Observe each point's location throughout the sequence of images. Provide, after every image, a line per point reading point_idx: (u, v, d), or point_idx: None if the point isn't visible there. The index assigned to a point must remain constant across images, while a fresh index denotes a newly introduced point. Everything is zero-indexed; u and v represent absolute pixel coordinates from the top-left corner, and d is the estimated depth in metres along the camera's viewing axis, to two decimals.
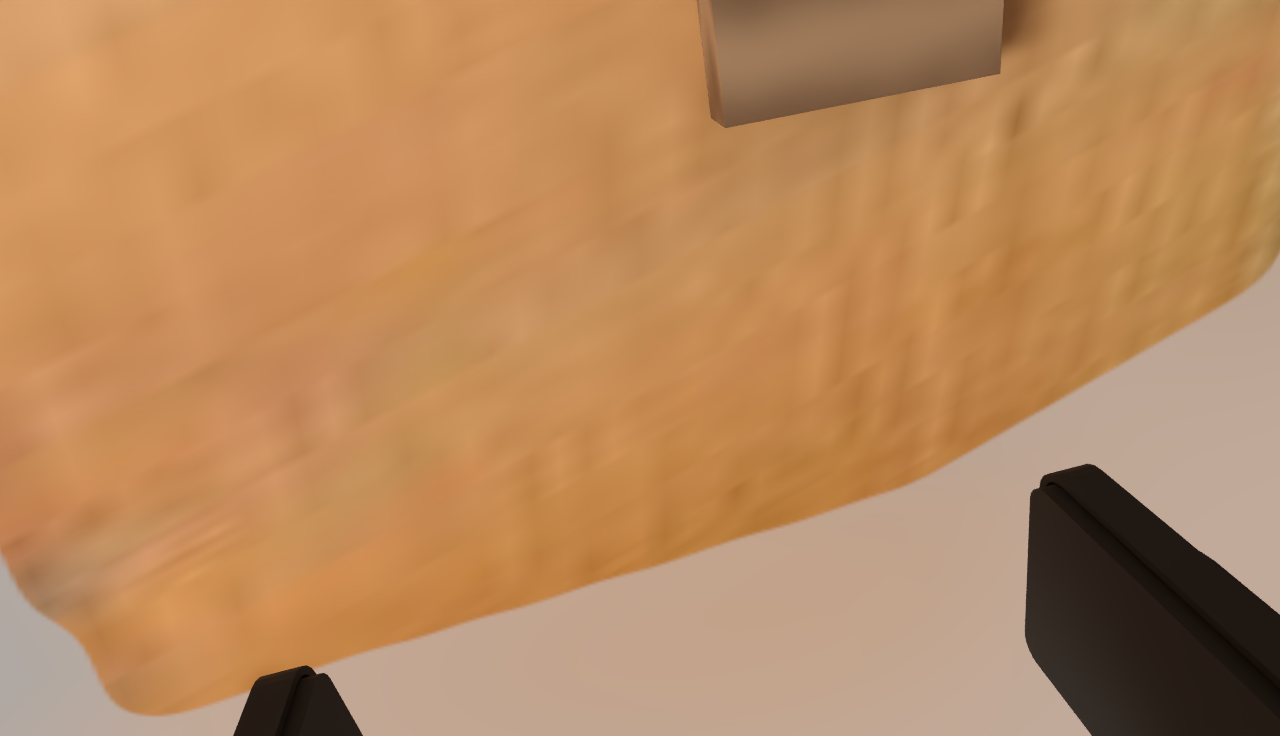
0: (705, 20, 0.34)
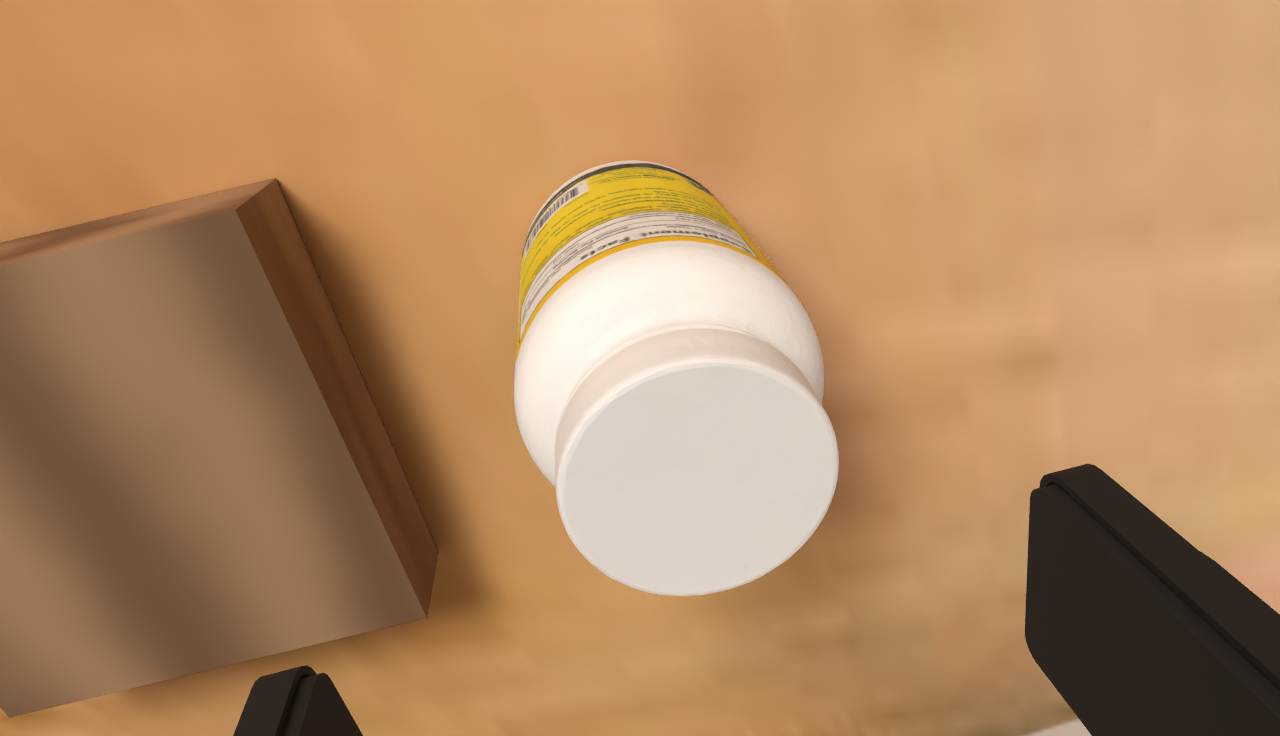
0: None
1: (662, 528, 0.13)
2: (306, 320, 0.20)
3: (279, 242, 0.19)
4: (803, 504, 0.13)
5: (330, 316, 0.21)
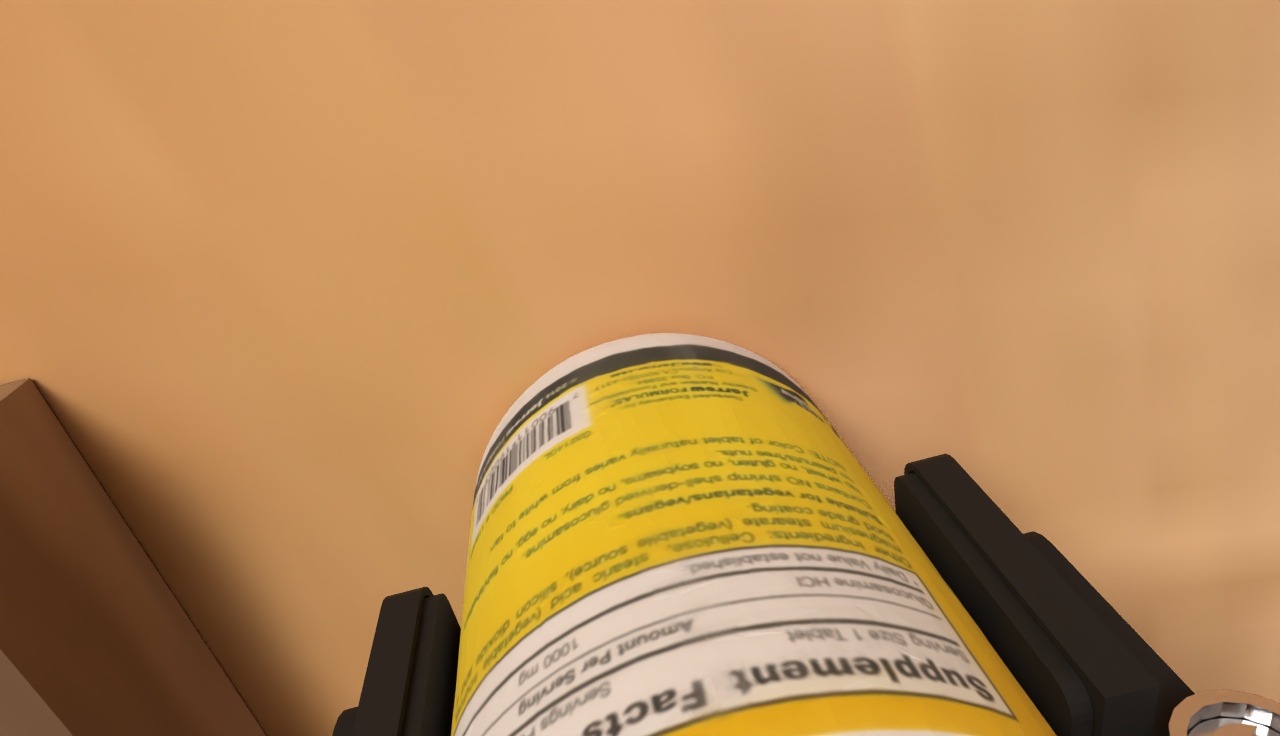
0: None
1: None
2: (80, 638, 0.11)
3: (20, 508, 0.10)
4: None
5: (149, 588, 0.13)
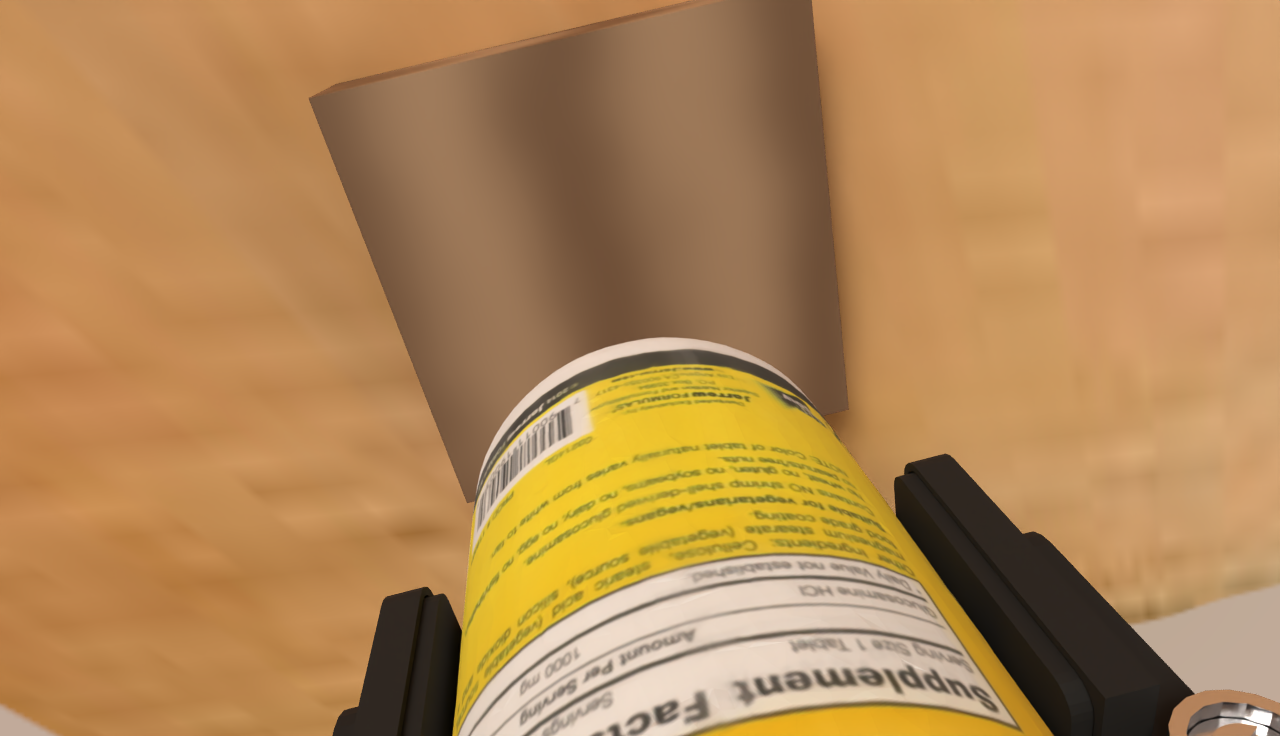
0: (484, 52, 0.21)
1: None
2: None
3: None
4: None
5: None
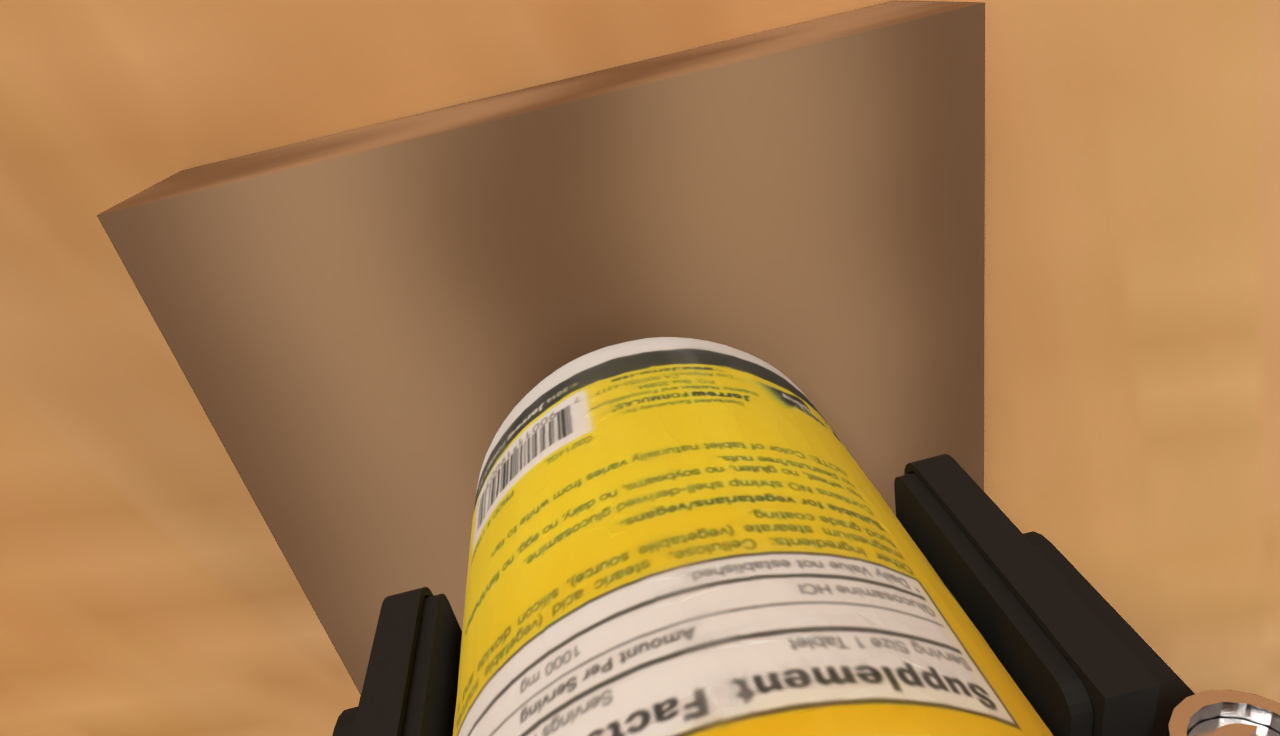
0: (421, 122, 0.12)
1: None
2: None
3: None
4: None
5: None
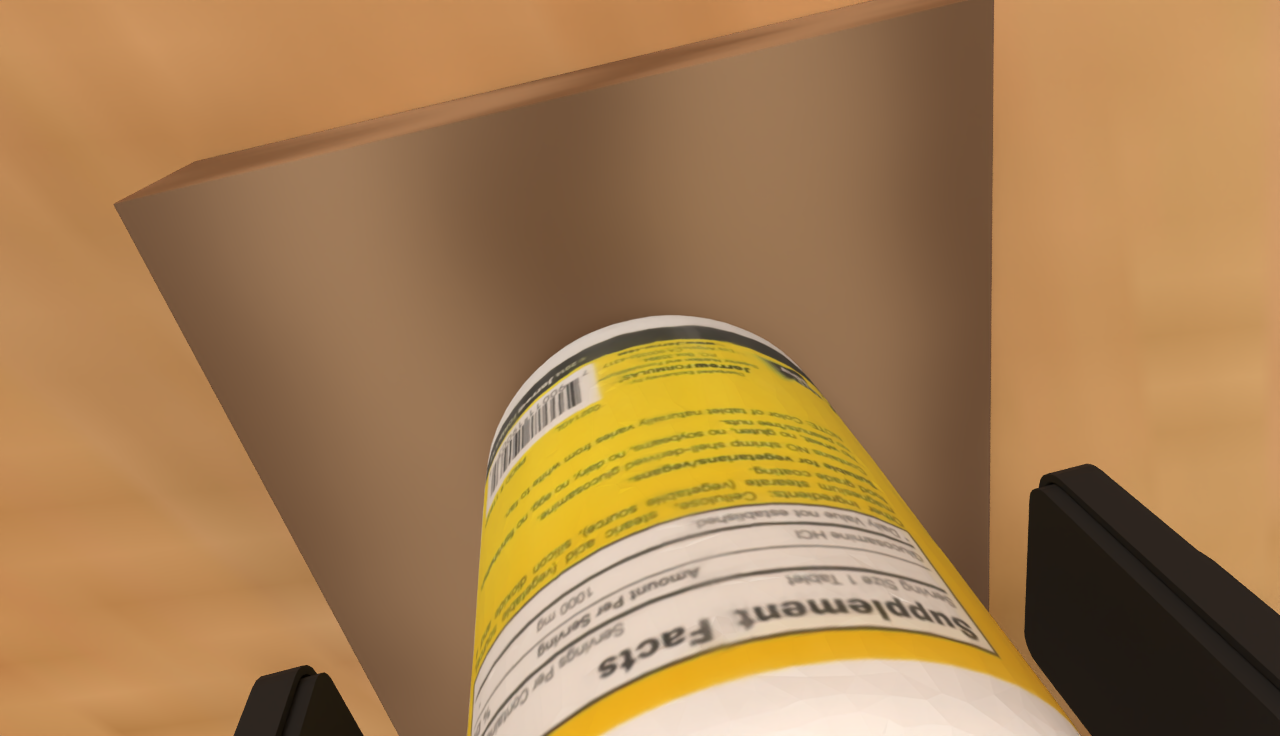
0: (432, 113, 0.12)
1: None
2: None
3: None
4: None
5: None
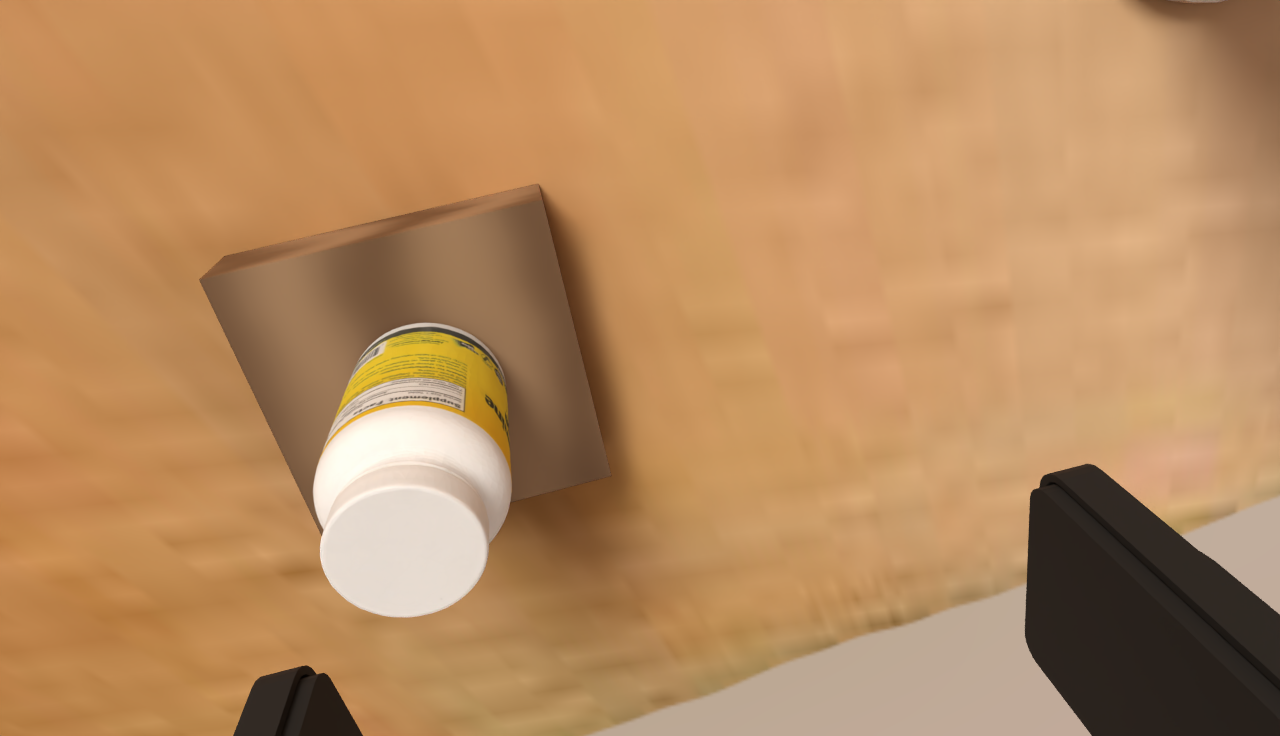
0: (327, 239, 0.30)
1: (386, 578, 0.22)
2: None
3: None
4: (469, 561, 0.22)
5: None
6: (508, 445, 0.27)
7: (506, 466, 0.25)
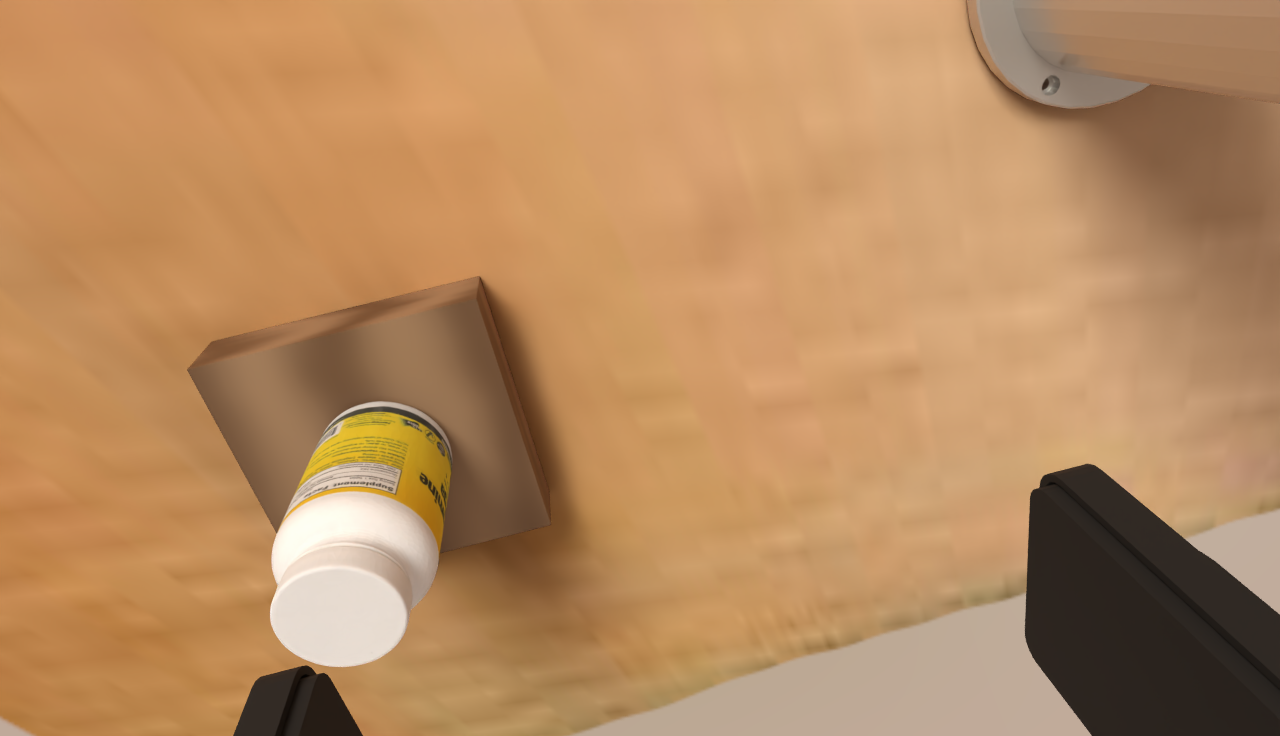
0: (296, 330, 0.35)
1: (325, 636, 0.27)
2: (497, 353, 0.36)
3: (486, 312, 0.36)
4: (392, 624, 0.27)
5: (502, 349, 0.38)
6: (440, 515, 0.32)
7: (431, 538, 0.30)
